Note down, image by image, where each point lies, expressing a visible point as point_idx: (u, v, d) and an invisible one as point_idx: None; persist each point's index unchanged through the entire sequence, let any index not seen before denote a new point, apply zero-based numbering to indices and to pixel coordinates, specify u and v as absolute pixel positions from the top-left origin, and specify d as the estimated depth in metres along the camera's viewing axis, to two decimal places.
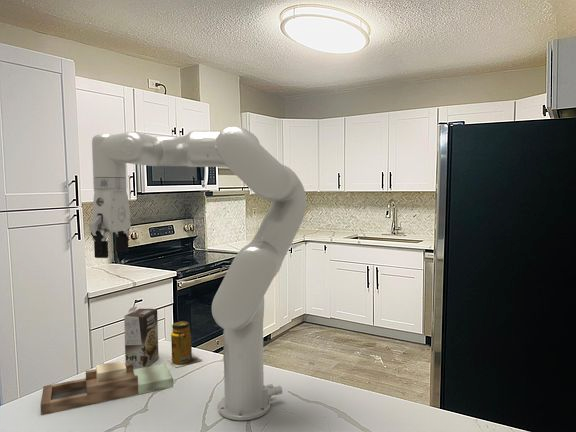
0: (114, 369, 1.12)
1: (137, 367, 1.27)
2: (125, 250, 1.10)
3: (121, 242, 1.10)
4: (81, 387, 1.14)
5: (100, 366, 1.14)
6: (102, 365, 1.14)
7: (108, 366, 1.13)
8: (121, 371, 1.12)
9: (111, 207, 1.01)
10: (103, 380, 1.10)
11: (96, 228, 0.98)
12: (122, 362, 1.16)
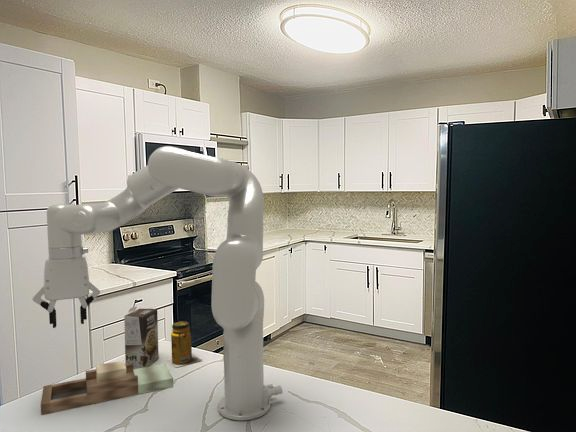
0: (114, 369, 1.12)
1: (137, 367, 1.27)
2: None
3: None
4: (81, 387, 1.14)
5: (100, 366, 1.14)
6: (102, 365, 1.14)
7: (108, 366, 1.13)
8: (121, 371, 1.12)
9: None
10: (103, 380, 1.10)
11: None
12: (122, 362, 1.16)
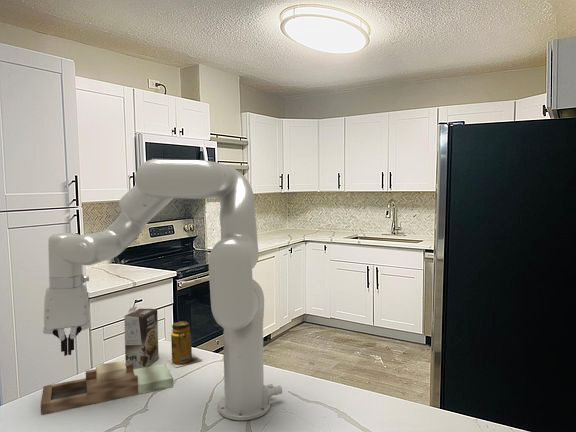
0: (114, 369, 1.12)
1: (137, 367, 1.27)
2: (67, 350, 1.10)
3: None
4: (81, 387, 1.14)
5: (100, 366, 1.14)
6: (102, 365, 1.14)
7: (108, 366, 1.13)
8: (121, 371, 1.12)
9: None
10: (103, 380, 1.10)
11: None
12: (122, 362, 1.16)
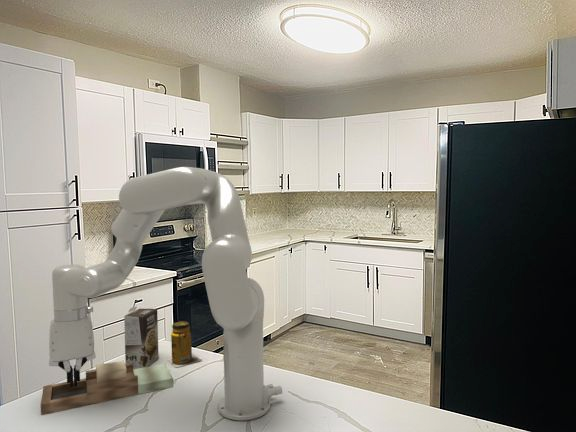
0: (114, 369, 1.12)
1: (137, 367, 1.27)
2: None
3: None
4: (81, 387, 1.14)
5: (100, 366, 1.14)
6: (102, 365, 1.14)
7: (108, 366, 1.13)
8: (121, 371, 1.12)
9: None
10: (103, 380, 1.10)
11: None
12: (122, 362, 1.16)
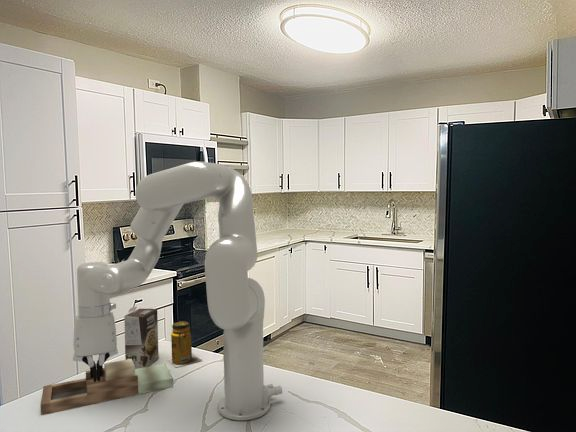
0: (123, 367, 1.13)
1: (137, 367, 1.27)
2: None
3: None
4: (81, 387, 1.14)
5: (108, 364, 1.15)
6: (110, 363, 1.15)
7: (116, 364, 1.15)
8: (129, 369, 1.13)
9: None
10: (112, 378, 1.11)
11: None
12: (130, 360, 1.17)
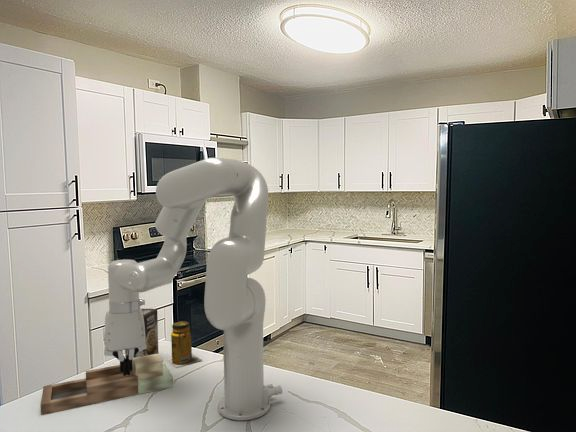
0: (151, 361, 1.17)
1: None
2: None
3: None
4: (81, 387, 1.14)
5: (137, 359, 1.18)
6: (138, 358, 1.19)
7: (144, 359, 1.18)
8: (157, 363, 1.17)
9: None
10: (141, 372, 1.15)
11: None
12: (157, 355, 1.21)
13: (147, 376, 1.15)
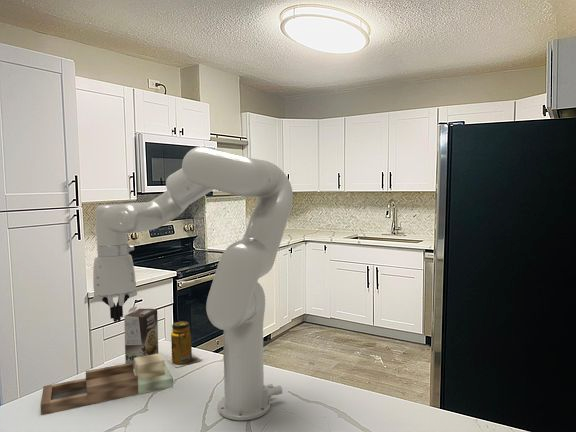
0: (153, 361, 1.17)
1: None
2: None
3: None
4: (81, 387, 1.14)
5: (139, 358, 1.19)
6: (140, 358, 1.19)
7: (146, 359, 1.18)
8: (159, 363, 1.17)
9: None
10: (143, 372, 1.15)
11: None
12: (159, 355, 1.21)
13: (149, 376, 1.16)
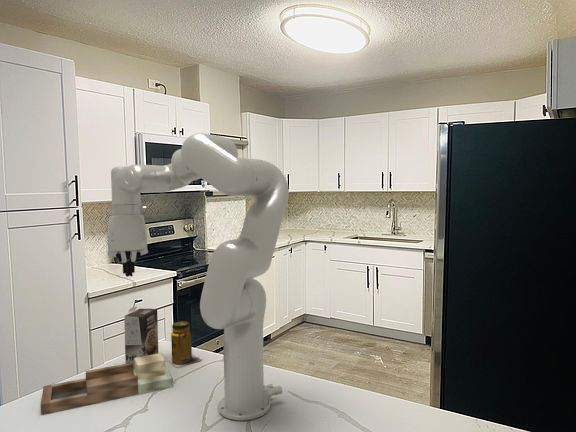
0: (153, 361, 1.17)
1: None
2: None
3: None
4: (81, 387, 1.14)
5: (139, 358, 1.19)
6: (140, 358, 1.19)
7: (146, 359, 1.18)
8: (159, 363, 1.17)
9: None
10: (143, 372, 1.15)
11: None
12: (159, 355, 1.21)
13: (149, 376, 1.16)
